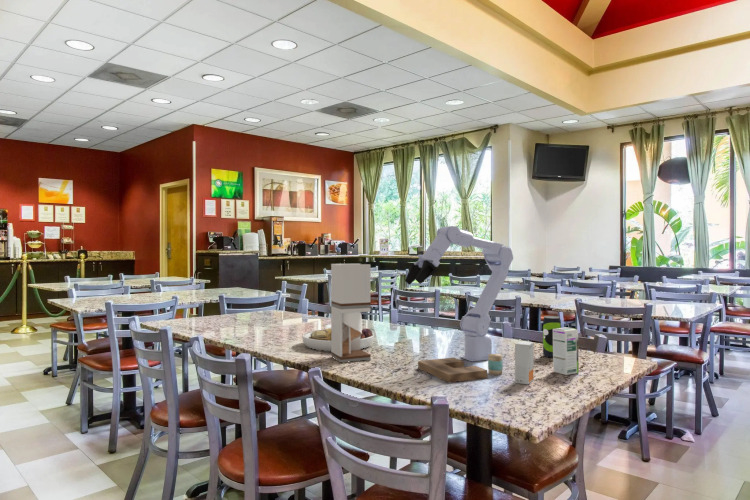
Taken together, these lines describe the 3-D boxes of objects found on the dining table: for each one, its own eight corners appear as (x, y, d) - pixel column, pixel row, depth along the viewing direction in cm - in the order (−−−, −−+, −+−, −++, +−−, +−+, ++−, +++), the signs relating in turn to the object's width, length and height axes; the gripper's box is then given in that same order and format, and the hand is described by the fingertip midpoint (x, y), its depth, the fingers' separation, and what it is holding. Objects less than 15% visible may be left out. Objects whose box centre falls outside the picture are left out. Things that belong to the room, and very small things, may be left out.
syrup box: (566, 375, 164) (566, 330, 164) (552, 371, 170) (552, 327, 170) (579, 373, 167) (579, 329, 167) (564, 369, 172) (564, 326, 172)
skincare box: (528, 385, 153) (528, 345, 153) (514, 383, 156) (514, 343, 155) (534, 380, 158) (534, 341, 158) (520, 378, 161) (520, 340, 161)
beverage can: (558, 354, 196) (558, 315, 195) (562, 358, 189) (562, 318, 189) (541, 354, 196) (541, 315, 196) (545, 358, 190) (545, 317, 190)
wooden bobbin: (496, 371, 170) (496, 353, 170) (505, 374, 166) (505, 356, 166) (485, 372, 168) (485, 354, 168) (493, 375, 164) (493, 357, 164)
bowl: (292, 352, 203) (292, 332, 202) (314, 338, 232) (314, 321, 232) (367, 354, 198) (367, 334, 198) (379, 340, 227) (379, 323, 227)
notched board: (453, 364, 180) (453, 357, 180) (487, 378, 161) (487, 370, 161) (418, 368, 174) (418, 361, 174) (448, 382, 156) (448, 374, 156)
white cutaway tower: (341, 363, 182) (340, 264, 182) (331, 357, 192) (331, 263, 192) (370, 360, 187) (370, 264, 186) (359, 354, 196) (359, 263, 196)
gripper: (416, 247, 185) (394, 275, 180) (437, 242, 172) (414, 273, 167) (429, 260, 186) (408, 288, 182) (451, 257, 173) (429, 287, 168)
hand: (412, 282), depth 174 cm, fingers open, 7 cm apart
